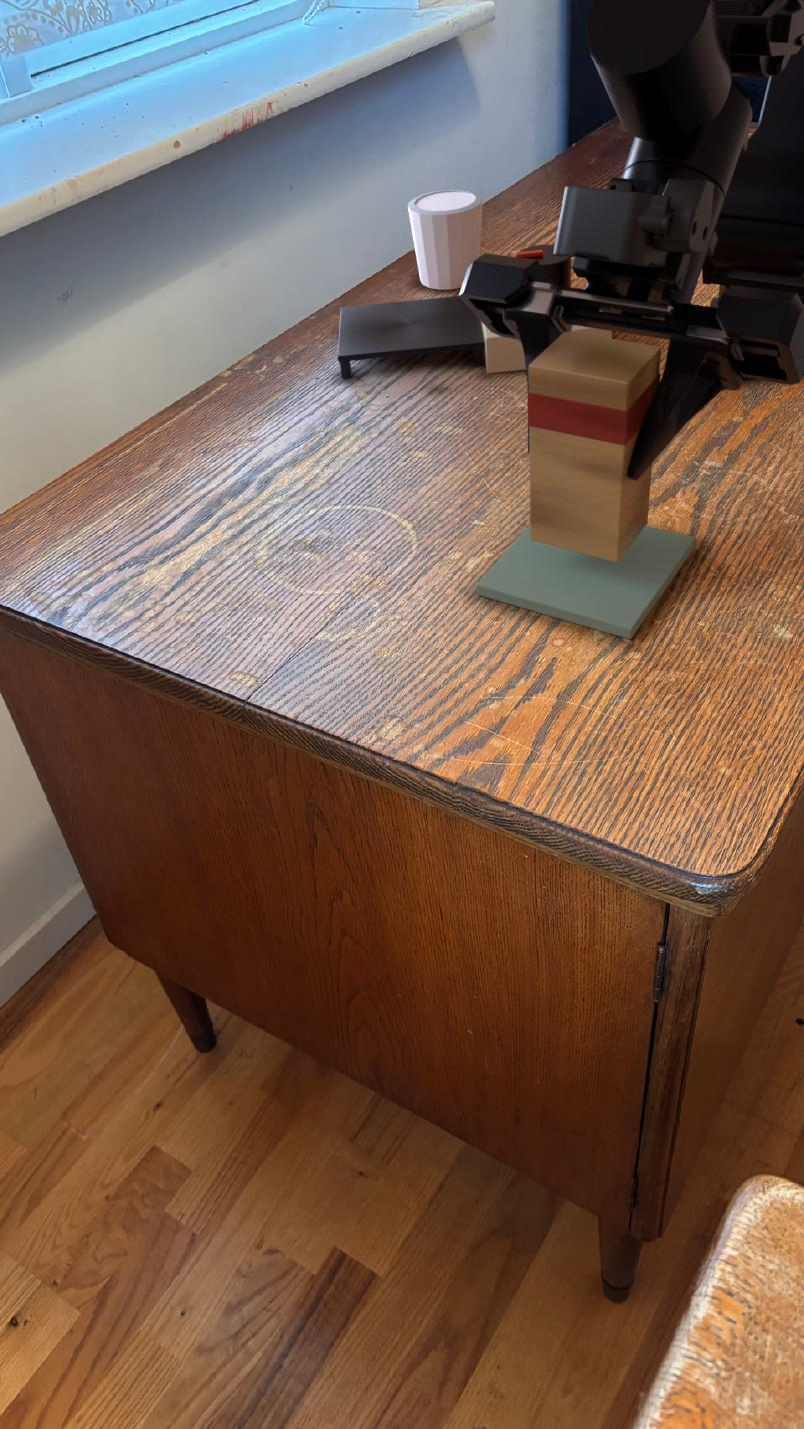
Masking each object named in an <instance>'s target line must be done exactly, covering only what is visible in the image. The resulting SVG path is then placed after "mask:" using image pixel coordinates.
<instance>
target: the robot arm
mask: <svg viewBox="0 0 804 1429" xmlns="http://www.w3.org/2000/svg"><path fill="white" fill-rule="evenodd" d="M589 6H590V7H589V9H588V12H587V16H586V21H585V27H584V32H585V43H586V45H587V49H588V52H589V55H590V57H591V59H592V61H593V64H594V65H595V67H596V70H597V72H598V75H599V77H600V80H601V82H602V84H603V86H604V88H605V91H606V92H607V95H608V98H609V100H610V102H611V104H612V107H613V108H614V111H615V113H616V115H617V117H618V120H619V122H620V124H621V125H622V126H623V127H624V129H625V130H626V132H628V134H629V133H630V134H631V135H632V136H634V139H633V141H632V144H631V148H630V151H629V153H628V157H627V158H626V159H627V160H626V163H625V166H624V168H623V172H622V175H621V177H611V178H610V182H609V183H608V184H607V185H606V187H605V188H599V187H589V186H580V185H579V186H578V185H577V186H576V185H567V186H564V191H563V197H562V202H561V208H560V213H559V220H558V225H557V230H556V235H555V241H554V245H555V247H554V252H553V254H554V255H555V256H559V257H562V256H568V257H572V258H573V261H572V262H571V270H572V271H573V273H574V275H575V276H576V278H581V279H585V280H586V281H587V282H586V284H585V287H584V288H585V289H583V288H578V287H573V286H571V287H565V286H557V285H554V283H553V282H552V280H551V279H550V277H549V276H548V275H547V273H546V272H545V270H544V269H543V267H542V266H541V265H540V263H539V262H538V260H534V259H526V258H518V257H515V256H509V255H502V254H495V253H487V252H484V253H482V254H480V257H479V258H477V259H476V260H475V261H473V263H472V264H471V265H470V266H469V267H468V269H467V271H466V274H465V278H464V281H463V284H462V287H461V288H460V290H459V294H458V296H459V297H460V298H461V300H462V301H463V302H464V303H465V304H466V305H467V306H468V307H469V308H470V309H471V311H472V312H473V313H474V314H475V315H476V316H477V317H478V318H479V319H480V320H481V322H482V323H483V324H484V325H485V326H486V327H487V328H488V329H489V330H490V332H492V333H495V334H497V335H499V336H501V337H506V338H512V339H518V340H519V341H520V342H521V343H522V347H523V351H524V357H525V364H526V370H525V371H526V390H527V392H528V391H529V364H530V363H531V362H533V361H534V360H535V359H536V358H537V357H538V356H539V355H540V354H541V353H542V352H543V351H544V350H545V349H547V348H548V347H549V346H550V345H551V344H552V343H553V342H554V341H555V340H556V339H557V338H558V337H559V336H560V335H562V334H563V333H564V332H571V329H572V326H573V325H577V326H583V327H589V328H596V329H602V330H609V331H612V332H615V333H623V334H628V335H635V336H642V337H648V338H652V339H653V338H654V339H661V340H666V341H667V340H668V341H669V342H668V347H667V352H666V359H665V362H664V369H663V373H662V375H661V377H660V383H659V386H658V388H657V391H656V393H655V396H654V398H653V401H652V403H651V405H650V408H649V410H648V413H647V415H646V418H645V420H644V423H643V425H642V428H641V430H640V432H639V435H638V437H637V440H636V442H635V446H634V449H633V453H632V456H631V460H630V464H629V467H628V471H627V476H628V477H629V479H630V480H634V481H637V480H638V479H639V478H640V477H641V476H642V474H643V473H644V472H645V471H646V470H647V469H648V467H649V466H650V465H651V464H652V465H653V463H654V462H655V461H656V459H657V458H659V456H660V455H661V454H662V453H663V451H664V450H665V449H666V448H667V447H668V445H669V444H670V443H671V442H672V441H673V440H674V438H676V436H677V435H678V434H679V433H680V432H681V431H682V429H684V428H685V426H686V425H687V424H688V423H689V422H690V421H691V420H692V419H693V418H694V417H695V416H696V415H697V414H698V413H699V412H700V411H702V410H703V409H704V408H705V407H706V406H707V405H708V404H709V403H710V402H711V401H713V400H714V399H715V398H716V397H717V396H718V395H719V394H720V393H721V392H722V391H725V390H726V391H731V392H732V391H734V392H735V391H739V390H740V389H741V387H742V384H743V379H752V380H758V381H765V382H770V383H775V384H781V385H788V386H792V385H797V384H800V382H801V379H802V377H803V374H804V0H592V1H591V4H590V5H589ZM732 77H750V78H751V77H753V78H754V77H755V78H768V80H767V85H766V88H765V92H764V97H763V101H762V106H761V110H760V114H759V118H758V122H757V125H756V128H755V129H754V131H753V132H752V133H751V135H750V136H749V129H750V127H751V122H752V119H753V116H754V115H753V109H752V106H751V103H750V99H749V97H748V95H747V93H746V91H745V90H744V89H743V87H742V86H741V85H740V84H739V83H738V82H737V81H735V80H734V79H733V78H732ZM701 273H702V274H701ZM700 276H702V278H701V279H702V285H716V286H717V285H718V287H719V288H718V296H717V297H716V296H715V297H713V298H712V299H711V300H710V305H709V306H707V305H702V304H701V305H700V304H692V299H693V296H694V294H695V291H696V288H697V285H698V281H699V279H700ZM599 310H600V311H599ZM602 311H603V312H602ZM527 400H528V397H527ZM527 453H528V455H529V456H530V446H529V426H528V425H527Z"/></svg>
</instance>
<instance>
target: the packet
mask: <svg viewBox="0 0 804 1429" xmlns="http://www.w3.org/2000/svg"><path fill="white" fill-rule="evenodd" d="M661 356H662V347H661V346H659V345H653V344H646V343H641V342H640V343H639V342H633V341H627V340H620V339H615V338H614V339H613V338H612V339H609V338H603V337H596V336H590V335H584V334H578V333H572V332H564V333H563V334H562V335H560V336H559V337H558V338H557V339H556V340H555V341H554V342H553V343H552V344H551V345H550V346H549V347H548V348H547V349H545V350H544V351H543V352H542V353H541V354H540V355H539V356H538V357H537V358H536V359H535V360H534V361H533V362H531V363H530V364H529V391H527V392H526V393H527V397H528V399H527V427H528V426H529V446H530V455H529V507H530V508H529V519H530V520H529V523H530V524H529V525H530V537H531V540H533V541H537V542H541V543H544V544H548V545H552V546H556V547H560V548H564V549H567V550H571V551H575V552H579V553H583V554H587V555H590V556H594V557H598V558H602V559H606V560H610V561H613V562H618V561H619V560H620V559H621V557H622V556H623V555H624V553H625V552H626V551H627V550H628V548H629V547H630V546H631V544H632V543H633V542H634V540H635V539H636V538H637V536H638V535H639V534H640V532H641V531H642V530H643V529H644V527H645V526H648V520H649V509H650V497H651V496H650V494H651V484H652V483H651V482H652V472H653V463H652V464H651V465H650V466H649V467H648V469H647V470H646V471H645V472H644V473H643V474H642V476H641V477H640V478H639V479H638V480H637V481H634V480H630V479H629V477H628V476H627V471H628V467H629V464H630V460H631V456H632V453H633V449H634V446H635V442H636V440H637V437H638V435H639V432H640V430H641V428H642V425H643V423H644V420H645V418H646V415H647V413H648V410H649V408H650V405H651V403H652V401H653V398H654V396H655V393H656V391H657V388H658V386H659V383H660V381H661V376H662V375H661V373H660V369H661Z"/></svg>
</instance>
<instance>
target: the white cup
mask: <svg viewBox="0 0 804 1429" xmlns="http://www.w3.org/2000/svg"><path fill="white" fill-rule="evenodd" d="M483 201H484V199H483V197H482V195H481V194H479V193H477V192H474V191H472V190H465V189H442V190H436V191H430V192H426V193H424V194H420V195H417V196H416V197H414V198H413V199H411V200H410V201H409V203H408V204H407V211H408V216H409V221H410V228H411V234H412V240H413V245H414V251H415V252H414V253H415V257H416V263H417V270H418V275H419V281H420V283H421V285H422V286H424V287H426V288H429V289H432V290H433V289H434V290H439V291H442V290H456V289H461V287H462V284H463V281H464V278H465V274H466V271H467V269H468V267H469V266H470V265H471V264H472V263H473V261H475V260H476V259H477V258H479V257H480V256H481V242H482V222H483V221H482V220H483V203H484V202H483Z"/></svg>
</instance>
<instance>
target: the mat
mask: <svg viewBox="0 0 804 1429" xmlns="http://www.w3.org/2000/svg"><path fill="white" fill-rule="evenodd" d="M696 541H697V538H696V537H695V536H692V535H688V534H683V533H679V532H674V531H671V530H666V529H663V528H657V527H654V526H650V525H649V526H648V525H646V526H645V527H644V529H643V530H642V531H641V532H640V534H639V535H638V536H637V538H636V539H635V540H634V542H633V543H632V544H631V546H630V547H629V548H628V550H627V551H626V552H625V553H624V555H623V556H622V557H621V559H620V560H619V561H618V562H613V561H610V560H606V559H602V558H598V557H594V556H590V555H587V554H583V553H579V552H575V551H571V550H567V549H564V548H560V547H556V546H552V545H548V544H544V543H541V542H537V541H533V540H531V537H530V524H529V525H528V526H527V527H526V528H525V529H524V530H523V532H522V533H521V534H519V536H518V537H517V538H516V539H515V541H514V542H513V543H512V544H510V546H509V547H508V549H506V551H505V552H504V553H503V554H502V555H501V556H500V557H499V558H498V559H497V561H496V562H495V563H494V564H493V565H492V566H491V567H490V569H489V570H488V571H487V572H486V573H484V575H483V577H481V578H480V579H479V581H478V582H477V583H476V584H475V586H476V588H475V590H476V595H477V596H481V597H484V598H486V599H491V600H494V601H498V602H501V603H505V604H507V605H512V606H513V607H518V608H522V609H525V610H529V611H532V612H535V613H538V614H541V615H546V616H549V617H551V618H555V619H559V620H562V621H566V622H568V623H572V624H576V625H578V626H579V625H580V626H582V627H585V628H586V627H587V628H589V629H594V630H597V631H599V632H603V633H607V634H610V635H613V636H618V637H619V638H620V637H621V638H623V639H627V640H632V639H633V637H634V635H635V634H636V633H637V632H638V630H639V629H640V627H641V626H642V624H643V623H644V621H645V620H646V618H647V617H648V615H649V614H650V613H651V611H652V610H653V609H654V607H655V605H656V604H657V603H658V601H659V600H660V598H661V597H662V595H663V594H664V593H665V591H666V590H667V588H668V587H669V585H670V584H671V582H672V581H673V579H674V578H675V577H676V575H677V574H678V573H679V571H680V569H681V568H682V567H683V565H684V564H685V562H686V561H687V560H688V558H689V557H690V555H691V554H692V552H693V551H694V549H695V548H696V543H697V542H696Z"/></svg>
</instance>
